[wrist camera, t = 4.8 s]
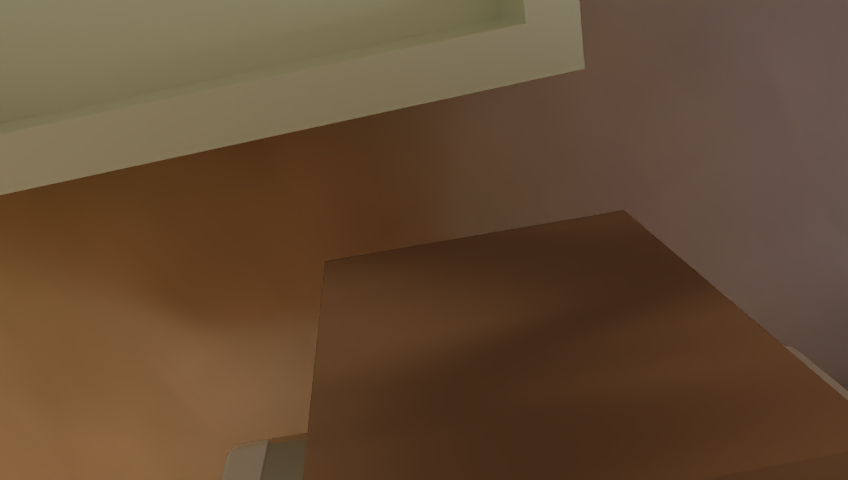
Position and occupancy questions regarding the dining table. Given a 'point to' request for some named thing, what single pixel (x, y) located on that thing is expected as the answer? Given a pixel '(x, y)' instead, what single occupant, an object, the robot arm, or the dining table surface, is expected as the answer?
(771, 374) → the walnut block
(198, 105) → the tray
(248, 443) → the robot arm
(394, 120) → the dining table surface
